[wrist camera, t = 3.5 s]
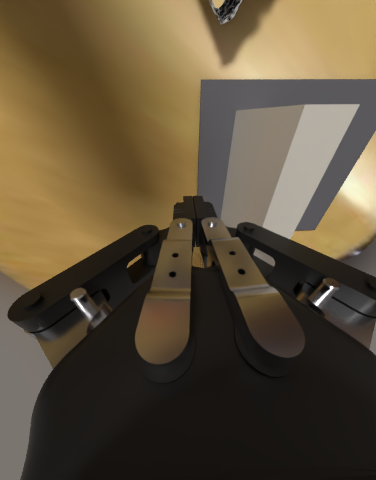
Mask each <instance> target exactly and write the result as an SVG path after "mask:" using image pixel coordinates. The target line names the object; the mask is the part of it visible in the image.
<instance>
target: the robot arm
mask: <svg viewBox="0 0 376 480" xmlns="http://www.w3.org/2000/svg"><path fill="white" fill-rule="evenodd" d="M183 201H184V202H181V203H176V204H175V205H174V214H173V221H172V222H171V223H170V227H169V228H167V229H163V230H159V229H158V227H156V226H154V225H144V226H141V227H139V228H137V229H136V230H134V231H132V232H130V233H129V234H127V235H125V236H123V237H122V238H120V239H118V240H117V241H115V242H113V243H111V244H110V245H108V246H106V247H104V248H103V249H101V250H99V251H98V252H96V253H94V254H92V255H91V256H89V257H87V258H85V259H84V260H82V261H80V262H79V263H77V264H75V265H73V266H72V267H70V268H68V269H66V270H65V271H63V272H61V273H60V274H58V275H56V276H54V277H53V278H51V279H49V280H47V281H46V282H44V283H42V284H41V285H39V286H37V287H35V288H34V289H32V290H30V291H28V292H27V293H25V294H24V295H22V296H21V297H20V298H18V299H17V300H16V301H15V302H14V303H13V304H12V306H11V307H10V309H9V311H8V318H9V319H10V320H11V321H12V322H14V323H15V324H17V325H18V326H20V327H21V328H23V329H24V331H25V332H26V333H28V334H29V335H31V336H33V337H34V338H36V339H37V340H38V342H39V344H40V346H41V348H42V350H43V351H44V353H45V355H46V357H47V359H48V360H49V362H50V364H51V366H52V368H53V370H52V372H51V373H50V375H49V376H48V378H47V379H46V381H45V383H44V384H43V387H42V388H41V390H40V393H39V395H38V397H37V400H36V403H35V406H34V409H33V413H32V419H31V427H30V436H29V444H28V450H27V455H26V460H25V464H24V468H23V472H22V476H21V479H20V480H376V355H375V354H373V352H371V351H370V350H369V348H370V344H371V339H372V335H373V331H374V327H375V322H376V277H374V276H371V275H369V274H367V273H365V272H362V271H360V270H358V269H356V268H353V267H351V266H349V265H346V264H344V263H342V262H340V261H338V260H335V259H333V258H331V257H329V256H326V255H324V254H322V253H319V252H317V251H315V250H313V249H310V248H308V247H306V246H304V245H301V244H299V243H297V242H295V241H292V240H290V239H288V238H286V237H283V236H281V235H279V234H277V233H274V232H272V231H270V230H268V229H265V228H263V227H261V226H258V225H256V224H254V223H250V222H242V223H239V224H238V225H237V228H231V227H227V226H225V224H224V223H223V221H222V220H221V219H219V218H218V217H217V215H216V212H215V209H214V207H213V204H211V203H210V202H204V200H203V196H193V197H192V196H183ZM195 241H196V247H200V258H201V262H202V266H203V268H200V267H193V266H192V253H193V247H195ZM255 249H258V250H260V251H262V252H264V253H265V254H267V255H269V256H271V257H272V258H273V259H274V261H275V265H274V266H272V265H270V264H268V263H267V262H265V261H263V260H262V259H260V258H258V257H256V256H255V255H253V254H254V251H255ZM140 254H141V257H142V258H140V259H139V260H138V261H136V262H135V263H134V264H132V265H131V266H130V267H128V268H127V265H128V263H129V262H130V261H131V260H133V259H134V258H135V257H137V256H138V255H140Z"/></svg>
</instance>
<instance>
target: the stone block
mask: <svg viewBox="0 0 376 480" xmlns="http://www.w3.org/2000/svg"><path fill="white" fill-rule="evenodd" d="M359 105H360V104H309V105H294V106H282V107H271V108H259V109H248V110H236V115H235V122H234V129H233V136H232V143H231V150H230V157H229V164H228V171H227V178H226V185H225V192H224V199H223V206H222V213H221V220H222V221H223V223H224V224H225V226H227V227H231V228H237V225H238V224H239V223H242V222H250V223H254V224H256V225H258V226H261V227H263V228H265V229H268V230H270V231H272V232H274V233H277V234H279V235H281V236H283V237H286V238H288V239H291V237H292V235H293V233H294V231H295V229H296V227H297V225H298V223H299V222H300V220H301V218H302V216H303V214H304V212H305V210H306V208H307V206H308V204H309V202H310V200H311V198H312V196H313V194H314V192H315V191H316V189H317V187H318V185H319V183H320V181H321V179H322V177H323V175H324V173H325V171H326V169H327V167H328V165H329V163H330V161H331V160H332V158H333V156H334V154H335V152H336V150H337V148H338V146H339V144H340V142H341V140H342V138H343V136H344V134H345V132H346V130H347V129H348V127H349V125H350V123H351V121H352V119H353V117H354V115H355V113H356V111H357V109H358V107H359ZM253 255H255V256H256V257H258V258H260V259H262V260H263V261H265V262H267V263H268V264H270V265H272V266H274V265H275V261H274V259H273V258H272V257H271V256H269V255H267V254H265V253H264V252H262V251H260V250H258V249H255V251H254V254H253Z"/></svg>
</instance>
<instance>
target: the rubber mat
mask: <svg viewBox="0 0 376 480" xmlns="http://www.w3.org/2000/svg"><path fill="white" fill-rule="evenodd" d="M309 104H360V105H359V107H358V109H357V111H356V113H355V115H354V117H353V119H352V121H351V123H350V125H349V127H348V129H347V130H346V132H345V134H344V136H343V138H342V140H341V142H340V144H339V146H338V148H337V150H336V152H335V154H334V156H333V158H332V160H331V161H330V163H329V165H328V167H327V169H326V171H325V173H324V175H323V177H322V179H321V181H320V183H319V185H318V187H317V189H316V191H315V192H314V194H313V196H312V198H311V200H310V202H309V204H308V206H307V208H306V210H305V212H304V214H303V216H302V218H301V220H300V222H299V223H298V225H297V227H296V229H295V231H297V230H315V229H316V227H317V225H318V224H319V222H320V221H321V219H322V217H323V216H324V214H325V212H326V211H327V209H328V208H329V206H330V204H331V203H332V201H333V199H334V198H335V196H336V194H337V193H338V191H339V190H340V188H341V186H342V185H343V183H344V181H345V180H346V178H347V176H348V175H349V173H350V172H351V170H352V168H353V167H354V165H355V163H356V162H357V160H358V158H359V157H360V155H361V154H362V152H363V150H364V149H365V147H366V145H367V144H368V142H369V141H370V139H371V137H372V136H373V134H374V132H375V131H376V79H301V80H201V97H200V128H199V159H198V191H197V196H203V200H204V202H210V203H211V204H213V207H214V209H215V212H216V215H217V217H218V218H219V219H221V213H222V206H223V199H224V192H225V185H226V178H227V171H228V164H229V157H230V150H231V143H232V136H233V129H234V122H235V115H236V110H248V109H259V108H271V107H282V106H294V105H309Z"/></svg>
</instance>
